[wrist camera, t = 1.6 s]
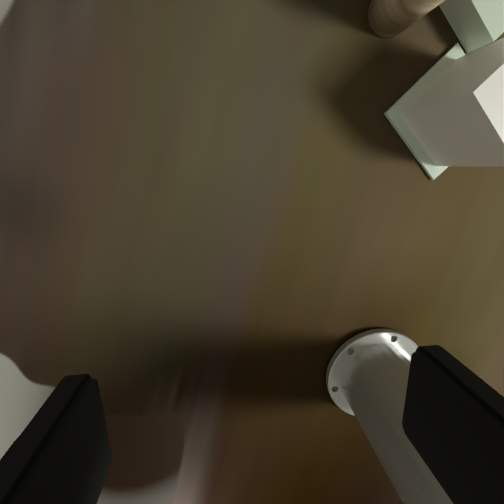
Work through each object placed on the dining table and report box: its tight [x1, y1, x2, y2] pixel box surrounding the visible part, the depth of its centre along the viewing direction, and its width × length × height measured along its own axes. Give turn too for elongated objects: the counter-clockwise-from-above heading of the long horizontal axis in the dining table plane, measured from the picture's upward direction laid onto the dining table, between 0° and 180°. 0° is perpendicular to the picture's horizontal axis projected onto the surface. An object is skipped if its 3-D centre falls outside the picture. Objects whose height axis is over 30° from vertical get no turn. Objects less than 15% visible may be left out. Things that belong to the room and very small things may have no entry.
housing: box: [399, 38, 504, 166], centre depth 26 cm, size 7×7×9 cm
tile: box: [384, 43, 465, 180], centre depth 29 cm, size 9×9×3 cm
